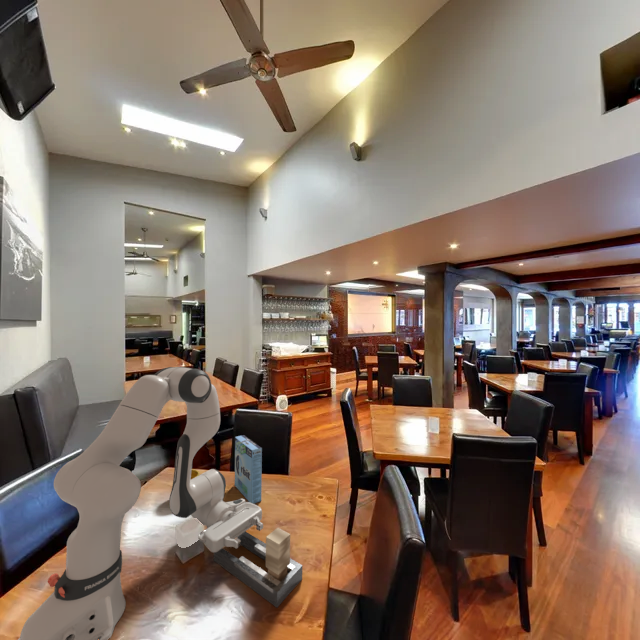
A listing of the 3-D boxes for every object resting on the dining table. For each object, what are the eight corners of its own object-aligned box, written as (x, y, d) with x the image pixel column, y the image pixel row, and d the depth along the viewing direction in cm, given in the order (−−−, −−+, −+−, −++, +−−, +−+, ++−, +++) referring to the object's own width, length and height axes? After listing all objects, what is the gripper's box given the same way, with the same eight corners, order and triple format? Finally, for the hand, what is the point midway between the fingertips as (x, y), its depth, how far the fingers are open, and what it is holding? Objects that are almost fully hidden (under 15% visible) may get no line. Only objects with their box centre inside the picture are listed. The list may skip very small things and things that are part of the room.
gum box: (261, 501, 126) (262, 447, 127) (250, 505, 123) (251, 450, 124) (243, 482, 142) (244, 434, 142) (233, 485, 139) (234, 436, 139)
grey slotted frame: (276, 607, 78) (277, 592, 78) (213, 560, 94) (213, 547, 94) (302, 579, 87) (302, 565, 87) (240, 540, 103) (240, 528, 103)
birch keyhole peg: (277, 597, 81) (278, 546, 82) (262, 586, 85) (263, 537, 85) (291, 582, 86) (292, 533, 87) (276, 572, 90) (277, 525, 90)
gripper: (195, 526, 92) (223, 545, 84) (246, 496, 109) (273, 509, 101) (194, 546, 91) (222, 567, 84) (245, 513, 108) (272, 528, 100)
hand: (250, 535), depth 92 cm, fingers open, 8 cm apart
